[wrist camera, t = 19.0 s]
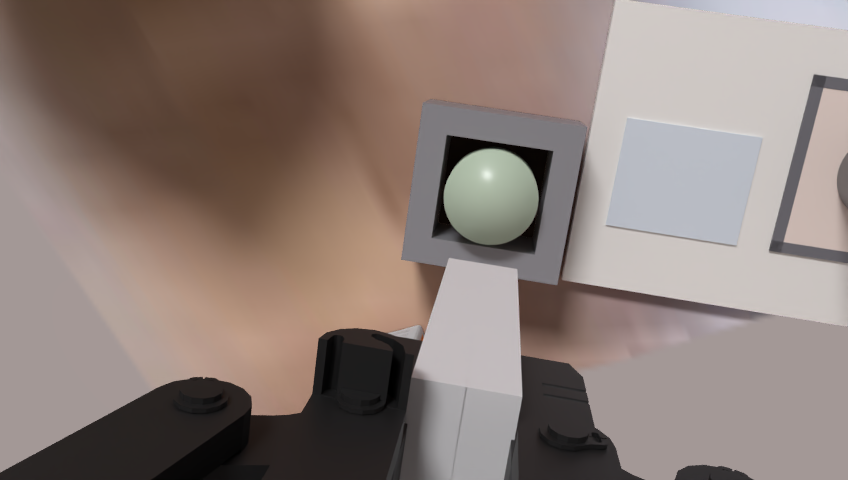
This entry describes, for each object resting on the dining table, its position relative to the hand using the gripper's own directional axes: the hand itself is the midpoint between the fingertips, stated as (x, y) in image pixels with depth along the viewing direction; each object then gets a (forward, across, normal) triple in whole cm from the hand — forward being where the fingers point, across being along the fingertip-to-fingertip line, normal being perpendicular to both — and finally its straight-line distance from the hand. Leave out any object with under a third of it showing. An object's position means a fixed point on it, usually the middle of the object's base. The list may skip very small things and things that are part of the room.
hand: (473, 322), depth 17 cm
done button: (+18, 0, 0) cm, 18 cm away
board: (+20, +13, +2) cm, 24 cm away
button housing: (+20, 0, 0) cm, 20 cm away
